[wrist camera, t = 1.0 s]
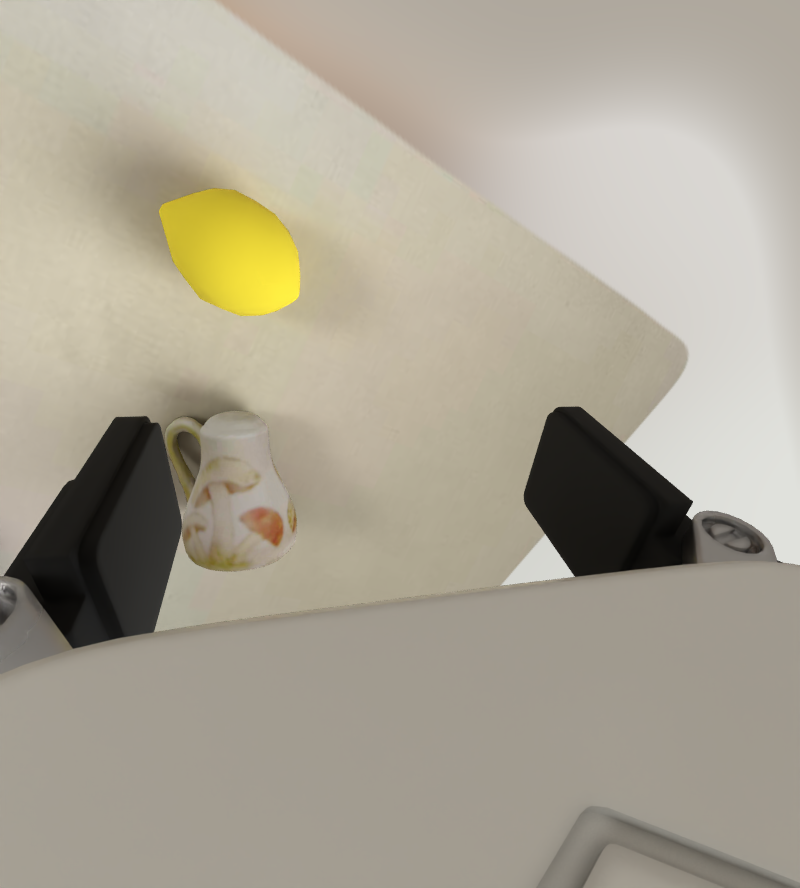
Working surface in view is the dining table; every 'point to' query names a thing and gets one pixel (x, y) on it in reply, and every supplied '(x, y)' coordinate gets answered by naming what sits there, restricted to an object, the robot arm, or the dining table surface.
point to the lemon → (232, 251)
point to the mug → (232, 494)
